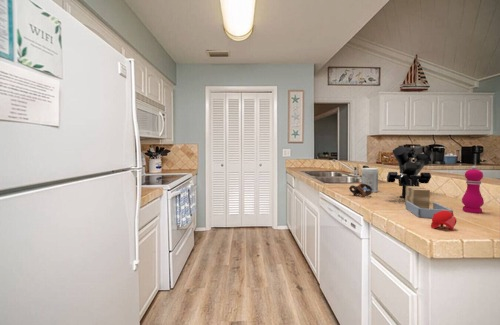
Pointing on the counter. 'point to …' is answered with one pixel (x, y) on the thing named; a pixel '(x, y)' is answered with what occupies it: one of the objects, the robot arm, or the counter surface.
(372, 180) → the supplement tub
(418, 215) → the box
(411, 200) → the oak block
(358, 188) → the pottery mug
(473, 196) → the pepper mill
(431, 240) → the counter surface
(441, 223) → the cap
